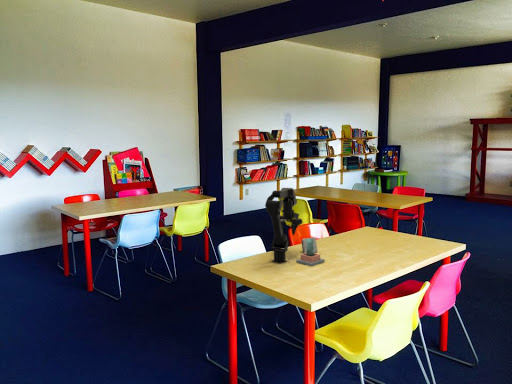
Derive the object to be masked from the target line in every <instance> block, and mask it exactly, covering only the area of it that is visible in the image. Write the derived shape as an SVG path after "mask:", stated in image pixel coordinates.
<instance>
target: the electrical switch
mask: <svg viewBox="0 0 512 384" xmlns="http://www.w3.org/2000/svg"><path fill="white" fill-rule="evenodd" d="M308 238H309V237H307V238H302V240H301V249H302V254H305V253H307V239H308ZM311 238H312V239H314V253H318V244H317V238H316V237H311Z"/></svg>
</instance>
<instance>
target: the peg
mask: <svg viewBox="0 0 512 384" xmlns="http://www.w3.org/2000/svg"><path fill="white" fill-rule="evenodd" d="M307 238H308V239H307V256H311V257H312V256H314V239H312V238H313V237H307Z"/></svg>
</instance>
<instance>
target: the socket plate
mask: <svg viewBox="0 0 512 384" xmlns="http://www.w3.org/2000/svg"><path fill="white" fill-rule="evenodd" d="M295 261H296V263H297V264H301V265H304V266H309V267H314V266H317V265H320V264H323V263H325V258H321V254H320V253H317V252H315V253H314V256H312V257H311V256H307V253H301V254H300V258H298V259H296V260H295Z"/></svg>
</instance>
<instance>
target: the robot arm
mask: <svg viewBox="0 0 512 384" xmlns="http://www.w3.org/2000/svg"><path fill="white" fill-rule="evenodd" d="M275 198H276V199H280V200H274V199H275ZM282 198H283V199H282ZM297 204H298V199H297V196H296V192H295V189H294V188H292V187H282V188H281V189H278V190H273V191H272V192H271V194H270V195H269V196H268V197H267V199H266V201H265V205H264V207H265V209H266V212H267V214H268V215H269V216H270V217H271V222H272V227H273V232H274V233H273V234H274V237H273V240H272V243H271V246H270V251H271V252H273V259H272V260H271V261H272V262H273V263H277V264H282V263H286V262H287V261H288V260H287V259H286V252H287V251H289V240H288V236H287V234H286V233H284V223H285V222H289V223H291V224H290V227H291V228H290V229H291V233H292V234H291V235H292V236H294V235H295V233H296V231H297V228H298V227H299V226H300V225H302V224H303V219H301V218H299V216H300V214H299V213H297V212H295V210H294V209H293V207H294V206H296V205H297ZM280 212H281V213H282V215H281V214H280Z"/></svg>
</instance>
